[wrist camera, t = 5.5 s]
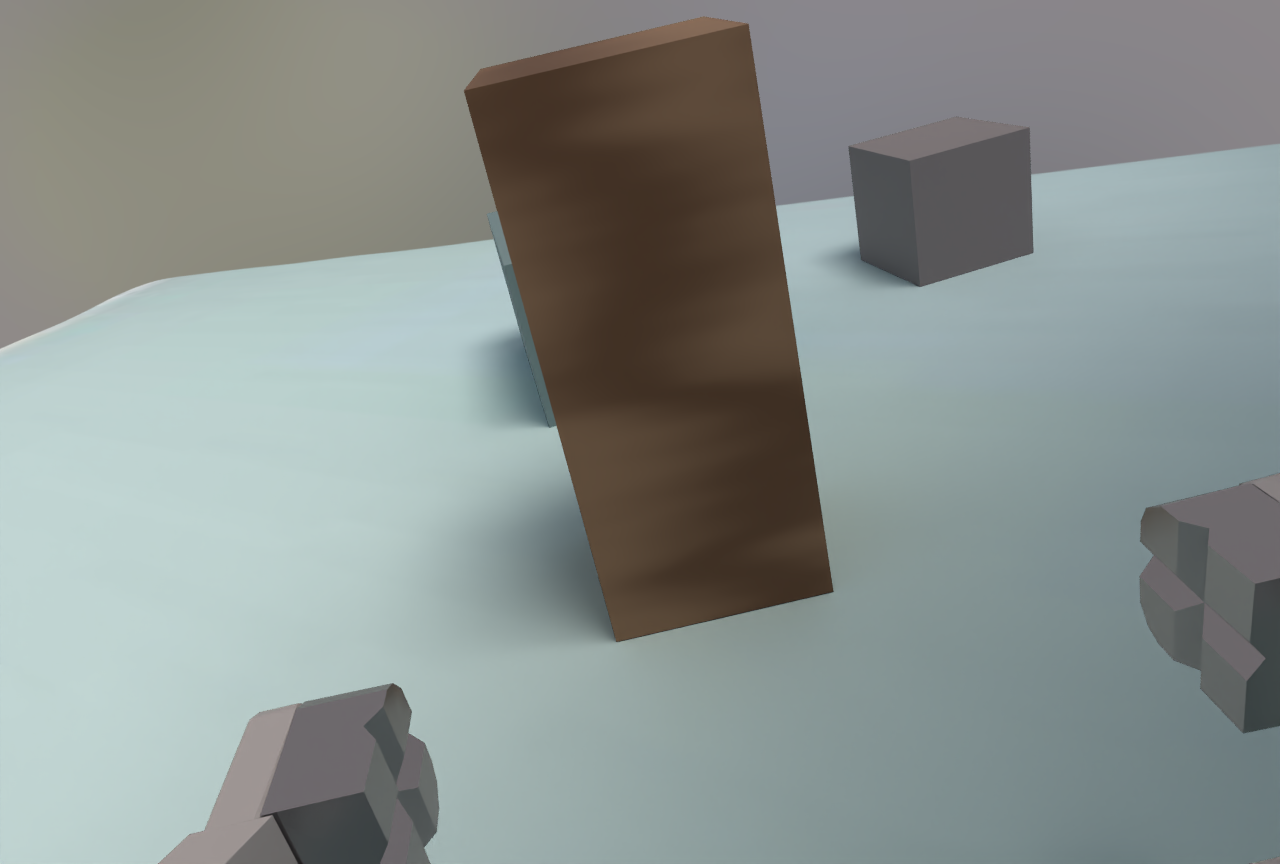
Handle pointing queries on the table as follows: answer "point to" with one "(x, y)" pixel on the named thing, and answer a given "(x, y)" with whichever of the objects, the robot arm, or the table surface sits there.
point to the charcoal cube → (943, 198)
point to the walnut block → (661, 316)
